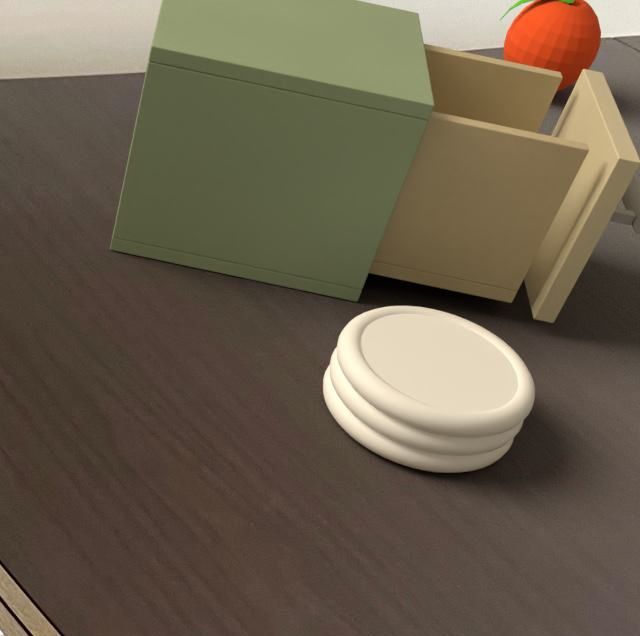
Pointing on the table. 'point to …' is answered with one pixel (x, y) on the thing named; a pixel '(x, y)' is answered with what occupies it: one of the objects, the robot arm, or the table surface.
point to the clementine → (554, 37)
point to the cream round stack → (427, 389)
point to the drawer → (510, 183)
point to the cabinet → (274, 139)
